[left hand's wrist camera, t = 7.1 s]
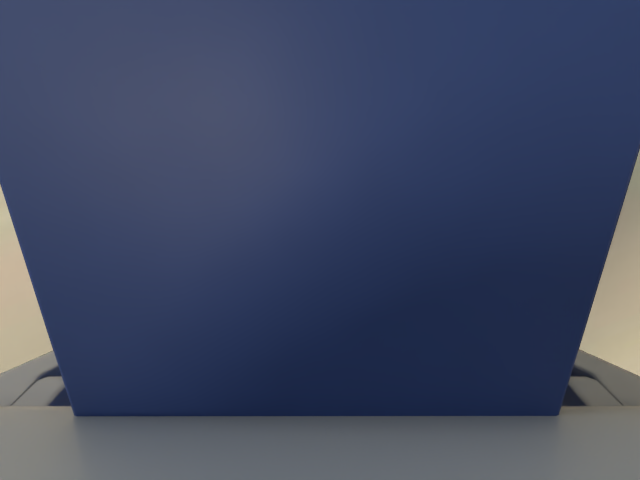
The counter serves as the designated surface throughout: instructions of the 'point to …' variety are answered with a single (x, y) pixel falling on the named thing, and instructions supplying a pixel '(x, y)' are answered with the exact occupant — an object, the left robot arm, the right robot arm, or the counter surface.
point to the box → (317, 198)
